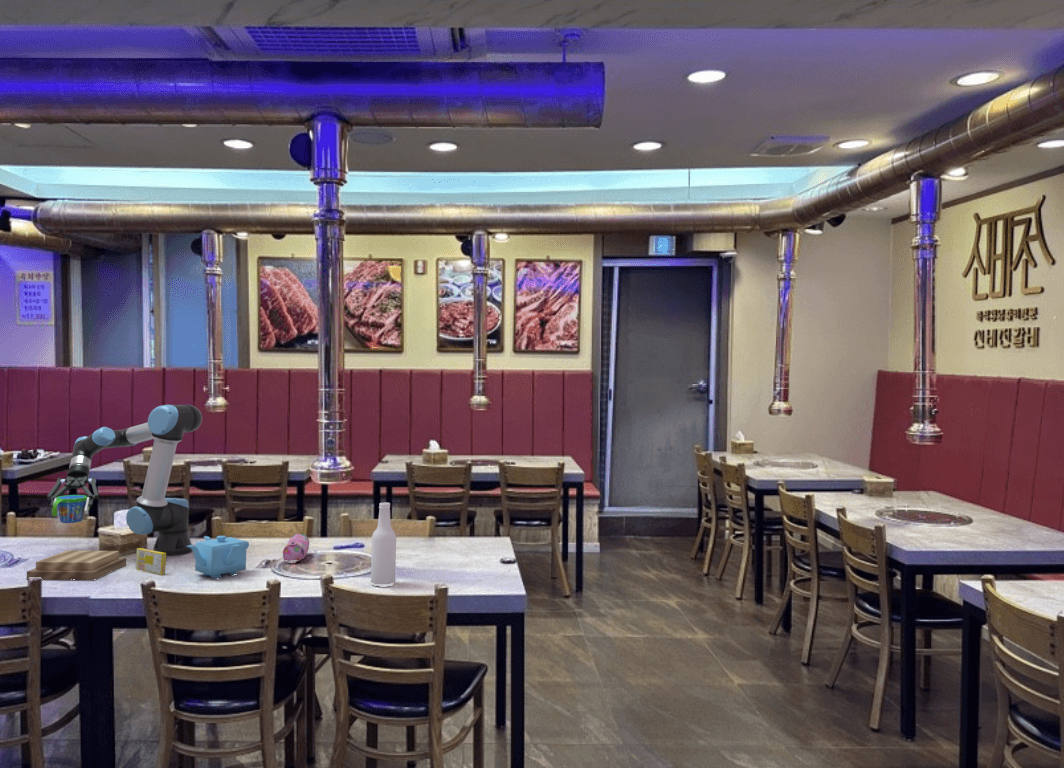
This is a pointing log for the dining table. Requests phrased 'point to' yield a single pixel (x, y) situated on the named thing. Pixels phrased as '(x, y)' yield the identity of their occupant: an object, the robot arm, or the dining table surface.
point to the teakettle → (220, 556)
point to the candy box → (151, 561)
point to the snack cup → (70, 508)
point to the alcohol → (383, 549)
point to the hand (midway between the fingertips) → (69, 512)
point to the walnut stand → (77, 565)
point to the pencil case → (296, 547)
